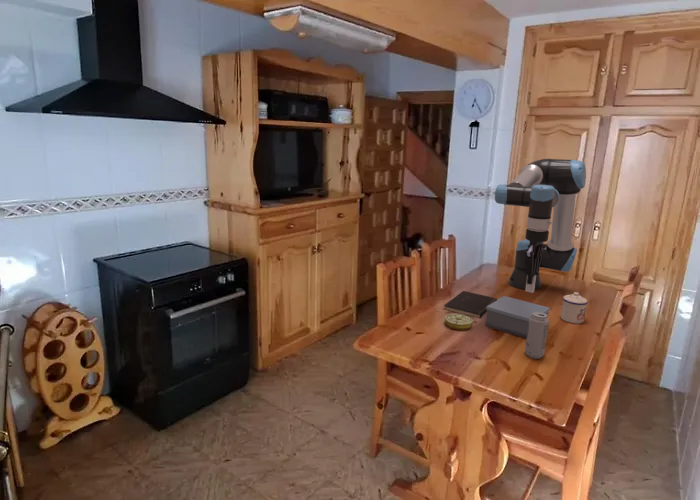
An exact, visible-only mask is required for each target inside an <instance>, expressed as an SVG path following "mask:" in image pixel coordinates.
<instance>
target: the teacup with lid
mask: <svg viewBox="0 0 700 500" xmlns="http://www.w3.org/2000/svg"><path fill="white" fill-rule="evenodd" d="M587 304H588V299H586V297H583V296H582V295H580V293H579V292H578V291H577V292H576V291H574V292H572V293H571V294H566V295H564V296H563V297H562V304H561V305H562V307H561V312H560V318H561V319H562V320H563V321H564V322H567V323H571V324H583V323H584V321H585V316H586V312H587V311H586V310H587Z"/></svg>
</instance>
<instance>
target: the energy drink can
mask: <svg viewBox="0 0 700 500" xmlns="http://www.w3.org/2000/svg"><path fill="white" fill-rule="evenodd" d="M549 323H550V321H549V314H548V315H547V314H545V313H542V312H533V313H532V315H531V316H530V319H529V326H528V333H527V339H526V340H525V349H524V352H525V354H526V356H527V357H528V358H531V359H537V360H539V359H542V357H544V356H545V349H546V344H547V343H546V342H547V336H548V331H549V329H548V328H549Z"/></svg>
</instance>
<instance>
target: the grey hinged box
mask: <svg viewBox="0 0 700 500" xmlns="http://www.w3.org/2000/svg"><path fill="white" fill-rule="evenodd" d="M549 312H550V311H549ZM549 312H547V313H546V314H547V315H548V316H549ZM528 326H529V322H528V321H525V320H521V319H518V318H514V317H511V316H508V315H504V314H501V313H497V312H494V311H490V310H487V312H486V316H485V327H488V328H491V329H494V330H497V331H500V332H502V333H503V332H504V333H507V334H510V335H512V336H516V337H520V338H522V339H526V340H527V333H528Z"/></svg>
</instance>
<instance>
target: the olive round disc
mask: <svg viewBox="0 0 700 500" xmlns="http://www.w3.org/2000/svg"><path fill="white" fill-rule="evenodd" d="M444 321H445V322H444V323H445V324H446V326H448V328H450V329H454V330H456V331H466V330H469V329H470V328H472V326H473V325H474V320H473V318H472V317H471V316H469V315H465V314H461V313H449V314H447V315H446V316H445V317H444Z"/></svg>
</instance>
